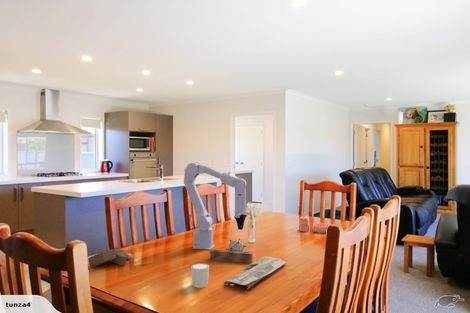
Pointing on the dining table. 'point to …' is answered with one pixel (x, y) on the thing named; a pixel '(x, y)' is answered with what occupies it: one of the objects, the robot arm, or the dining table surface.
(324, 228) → the pottery
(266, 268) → the newspaper
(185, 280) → the dining table surface
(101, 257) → the grey angled block
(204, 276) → the white short cylinder
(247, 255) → the batten
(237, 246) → the game die
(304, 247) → the dining table surface
